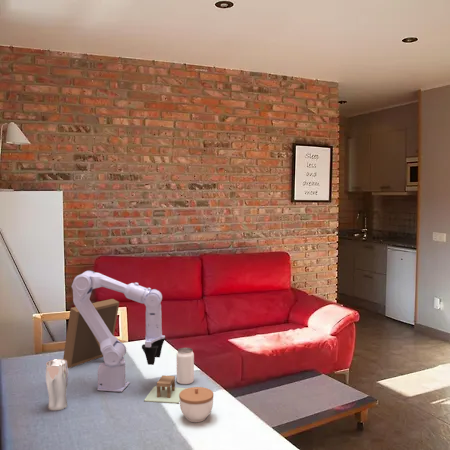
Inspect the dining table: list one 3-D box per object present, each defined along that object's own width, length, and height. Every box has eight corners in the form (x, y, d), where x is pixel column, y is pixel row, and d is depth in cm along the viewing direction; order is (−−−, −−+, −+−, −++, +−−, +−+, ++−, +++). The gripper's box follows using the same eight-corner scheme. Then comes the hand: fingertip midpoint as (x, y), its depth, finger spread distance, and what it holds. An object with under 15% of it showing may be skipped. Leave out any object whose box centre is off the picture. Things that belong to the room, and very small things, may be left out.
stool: (162, 389, 169) (162, 375, 169) (174, 389, 168) (174, 376, 168) (156, 397, 162) (156, 383, 162) (169, 398, 161) (169, 383, 161)
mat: (144, 401, 160) (144, 400, 159) (154, 387, 171) (154, 386, 171) (178, 403, 158) (178, 402, 158) (186, 389, 170) (186, 388, 170)
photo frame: (62, 365, 193) (61, 305, 191) (104, 351, 211) (104, 296, 209) (85, 374, 184) (85, 311, 183) (127, 358, 202) (127, 301, 200)
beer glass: (47, 413, 151) (46, 367, 150) (45, 404, 157) (44, 360, 156) (70, 408, 154) (69, 364, 153) (67, 400, 160) (66, 357, 159)
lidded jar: (200, 429, 140) (200, 398, 140) (172, 420, 146) (172, 390, 146) (219, 415, 150) (219, 386, 149) (192, 407, 155) (192, 379, 155)
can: (191, 385, 173) (191, 353, 172) (174, 384, 174) (174, 352, 174) (195, 378, 179) (195, 348, 179) (179, 377, 181) (179, 346, 180)
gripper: (158, 329, 162) (159, 368, 163) (169, 319, 177) (169, 354, 177) (139, 329, 163) (139, 367, 164) (151, 318, 178) (151, 353, 178)
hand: (154, 360), depth 171 cm, fingers open, 7 cm apart
